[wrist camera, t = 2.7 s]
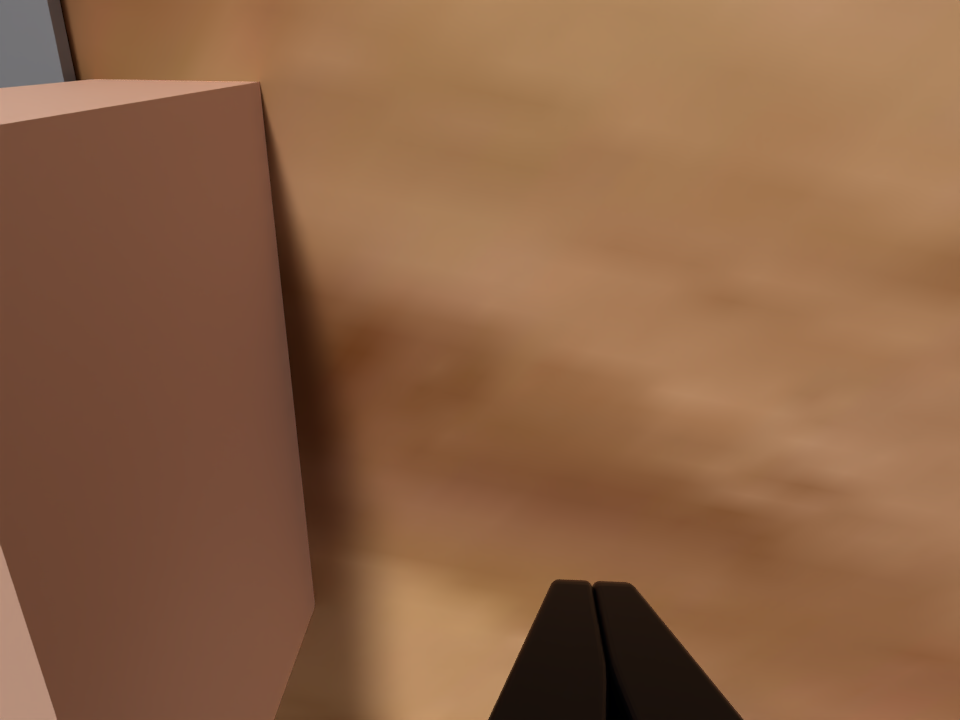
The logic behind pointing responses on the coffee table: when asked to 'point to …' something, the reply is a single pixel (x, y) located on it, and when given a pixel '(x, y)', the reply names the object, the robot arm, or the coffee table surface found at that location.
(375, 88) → the coffee table surface
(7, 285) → the block
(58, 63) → the mat
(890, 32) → the coffee table surface
